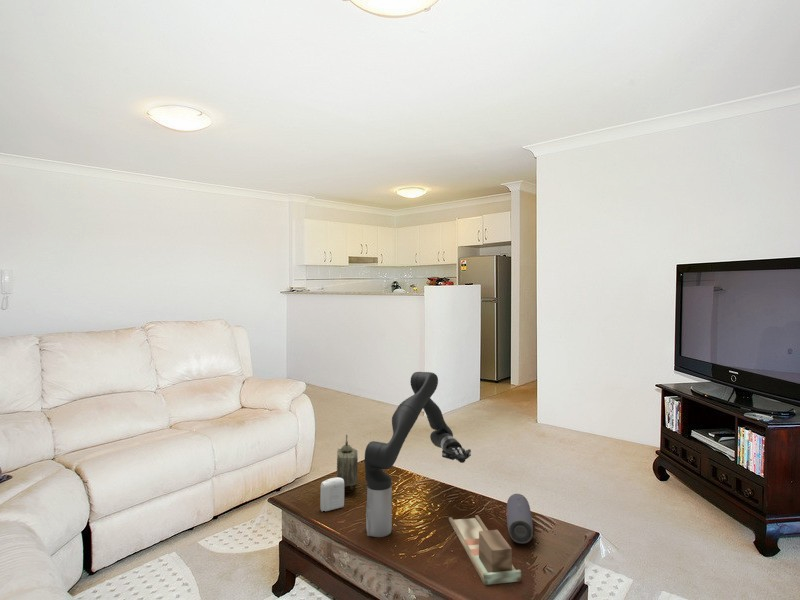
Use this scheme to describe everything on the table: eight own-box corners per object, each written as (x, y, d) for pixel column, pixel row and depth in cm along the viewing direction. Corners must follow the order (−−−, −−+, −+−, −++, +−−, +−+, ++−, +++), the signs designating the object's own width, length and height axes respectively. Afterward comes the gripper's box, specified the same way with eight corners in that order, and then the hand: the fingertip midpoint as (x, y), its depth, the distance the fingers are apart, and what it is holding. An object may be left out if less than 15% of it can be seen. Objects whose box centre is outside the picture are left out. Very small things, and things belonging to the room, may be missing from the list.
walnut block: (492, 579, 143) (492, 550, 143) (478, 557, 155) (479, 531, 155) (511, 577, 145) (511, 548, 145) (497, 556, 156) (497, 529, 156)
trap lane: (484, 584, 141) (484, 575, 141) (448, 520, 181) (448, 512, 181) (521, 581, 143) (521, 571, 143) (477, 518, 183) (477, 510, 183)
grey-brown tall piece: (337, 483, 217) (337, 430, 216) (357, 483, 218) (357, 430, 217) (336, 497, 202) (337, 440, 202) (357, 496, 203) (357, 439, 203)
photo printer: (341, 503, 197) (341, 474, 197) (345, 506, 193) (345, 477, 193) (318, 509, 191) (318, 479, 191) (323, 513, 187) (323, 482, 187)
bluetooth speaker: (505, 515, 186) (505, 491, 185) (529, 518, 184) (529, 493, 184) (506, 545, 163) (507, 517, 163) (534, 548, 161) (534, 520, 161)
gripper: (436, 438, 199) (446, 451, 182) (465, 437, 201) (478, 450, 184) (436, 456, 199) (446, 470, 182) (465, 454, 201) (478, 469, 184)
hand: (462, 460), depth 183 cm, fingers closed
